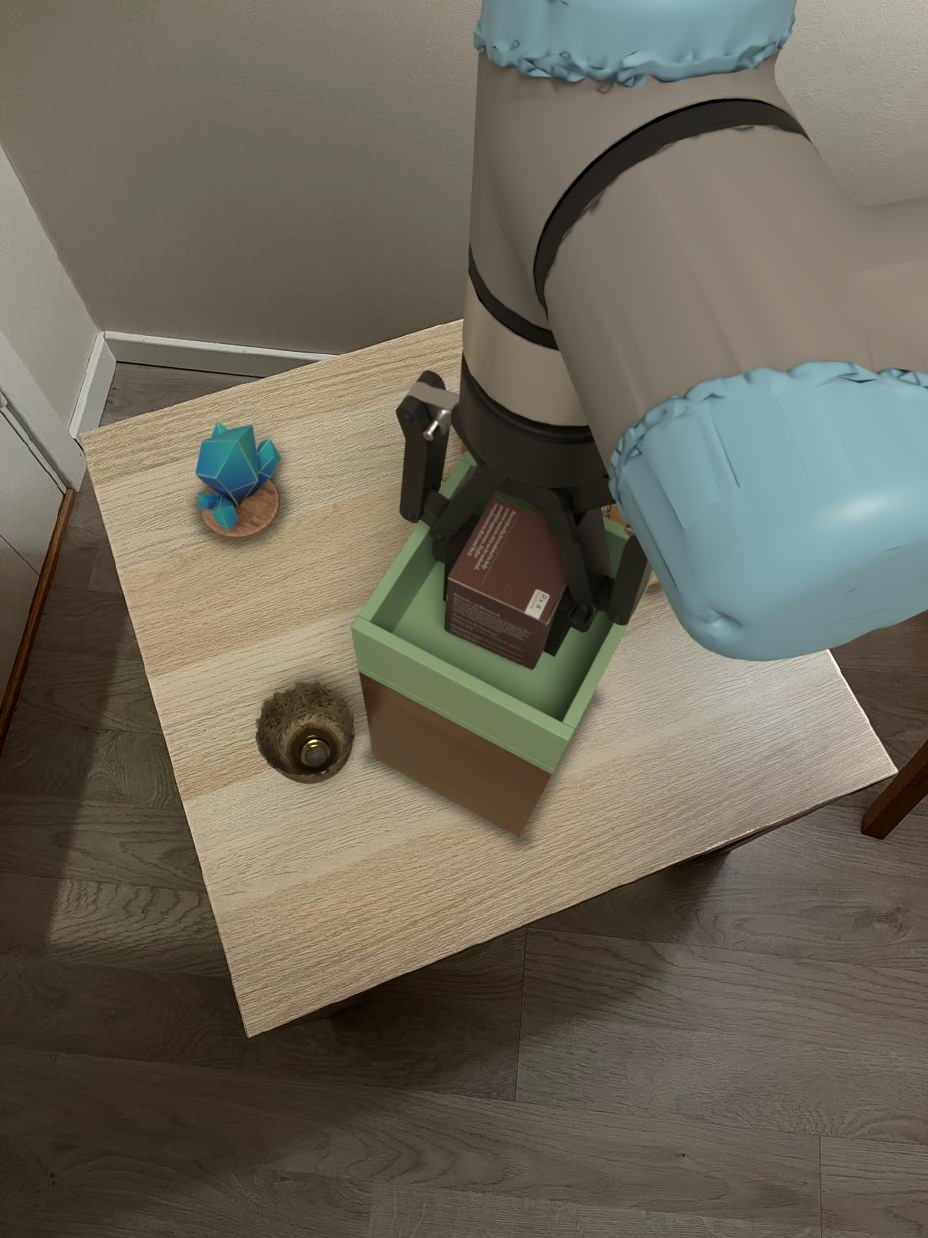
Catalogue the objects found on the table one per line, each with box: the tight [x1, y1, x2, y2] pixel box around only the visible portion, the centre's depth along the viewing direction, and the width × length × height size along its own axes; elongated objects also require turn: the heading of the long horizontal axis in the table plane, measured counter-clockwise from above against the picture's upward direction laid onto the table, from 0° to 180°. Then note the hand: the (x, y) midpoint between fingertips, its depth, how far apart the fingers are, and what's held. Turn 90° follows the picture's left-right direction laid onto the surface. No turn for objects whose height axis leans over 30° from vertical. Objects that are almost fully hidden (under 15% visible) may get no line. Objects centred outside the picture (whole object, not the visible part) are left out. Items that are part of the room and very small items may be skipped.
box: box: [444, 495, 569, 670], centre depth 52 cm, size 6×6×7 cm
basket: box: [350, 451, 655, 775], centre depth 55 cm, size 14×14×7 cm
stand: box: [358, 651, 616, 839], centre depth 67 cm, size 14×14×20 cm
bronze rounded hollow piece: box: [254, 680, 356, 785], centre depth 71 cm, size 8×7×8 cm
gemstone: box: [194, 421, 282, 540], centre depth 79 cm, size 7×9×12 cm
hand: (508, 610), depth 55 cm, fingers closed on box, 6 cm apart
